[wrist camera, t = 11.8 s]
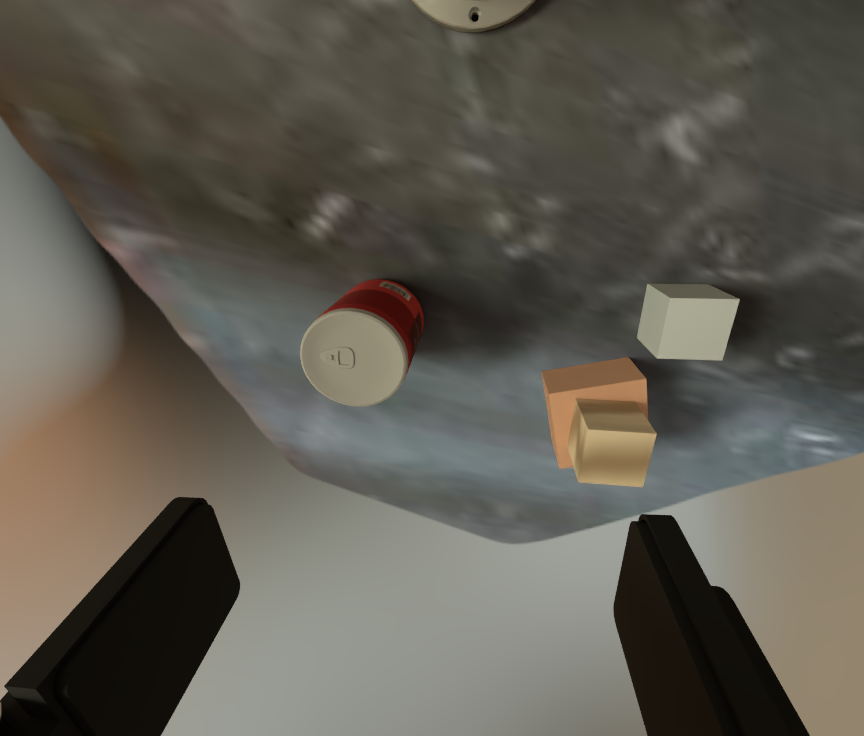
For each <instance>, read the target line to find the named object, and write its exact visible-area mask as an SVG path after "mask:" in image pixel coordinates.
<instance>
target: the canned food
mask: <svg viewBox="0 0 864 736" xmlns="http://www.w3.org/2000/svg"><path fill="white" fill-rule="evenodd" d="M423 326H424V316H423V312H422V308H421V306H420V304H419V302H418V300H417V299H416V297H415V296H414V295H413V294H412V293H411V292H410V291H409V290H408V289H406V288H405V287H404V286H402V285H400V284H398V283H396V282H393V281H390V280H383V279H374V280H369V281H365V282H363V283H360V284H358V285H357V286H355V287H354V288H353V289H351V290H350V291H349V292H348V293H347V294H345V295H344V296H343V297H342V298H341V299H339V300H338V301H337V302H336V303H335V304H333V305H332V306H331V307H330V308H329V309H328V310H326V311H325V312H324V313H323V314H322V315H320V316H319V317H318V318H317V319H316V320H315V321H314V322H313V323H312V325H311V326H310V327H309V328H308V330H307V331H306V333H305V335H304V337H303V339H302V343H301V348H300V358H301V363H302V367H303V369H304V372H305V374H306V376H307V378H308V379H309V381H310V382H311V384H312V385H313V386H314V387H315V388H316V389H317V390H318V391H319V392H321V393H322V394H323V395H325V396H326V397H328V398H330V399H332V400H334V401H335V402H338V403H341V404H344V405H350V406H369V405H375V404H377V403H380V402H382V401H384V400H386V399H388V398H389V397H391V396H392V395H393V394H394V393H395V392H396V391H397V390H398V388H399V387H400V386H401V384H402V382H403V381H404V379H405V377H406V374H407V372H408V369H409V367H410V364H411V361H412V358H413V356H414V353H415V350H416V348H417V345H418V342H419V339H420V337H421V334H422V331H423Z"/></svg>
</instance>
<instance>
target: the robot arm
mask: <svg viewBox="0 0 864 736" xmlns="http://www.w3.org/2000/svg"><path fill="white" fill-rule="evenodd" d="M411 1H412V2H413V3H414V5H415V6H416V7H417V8H418V9H419V10H420V11H421V12H422V13H423V14H425V15H426V16H427V17H428V18H429V19H431V20H432V21H434V22H436V23H438V24H440V25H442V26H444V27H445V28H448V29H452V30H456V31H460V32H482V31H487V30H491V29H496V28H498V27H500V26H502V25H504V24H507V23H509V22H511V21H513V20H514V19H515V18H517V17H518V16H519V15H521V14H522V13H524V12H525V11H526V10H528V8H529V7H530V6H531V5H532V4H533V3H534V2H535V1H536V0H411ZM473 15H477V16H478V17H479V18H478V20H477V21H476V22H473V21H472V20H471V18H472V16H473ZM239 590H240V581H239V579H238V576H237V573H236V570H235V567H234V565H233V562H232V559H231V557H230V554H229V551H228V548H227V545H226V543H225V540H224V537H223V534H222V532H221V529H220V526H219V523H218V521H217V518H216V515H215V513H214V509H213V508H212V506H211V505H208V503H207V502H206V500H205V499H203V498H188V497H178V498H175V499H174V500H172V501H171V502H170V503H169V504H168V505H167V506H166V508H165V509H164V510H163V511H162V512H161V513H160V514H159V516H157V518H156V519H155V520H154V521H153V522H152V523H151V524H150V525H149V527H147V529H146V530H145V531H144V532H143V533H142V534H141V535H140V536H139V537H138V539H137V540H136V541H135V542H134V543H133V544H132V546H130V548H129V549H128V550H127V551H126V552H125V553H124V554H123V555H122V556H121V558H119V560H118V561H117V562H116V563H115V564H114V565H113V567H111V569H110V570H109V571H108V572H107V573H106V574H105V575H104V576H103V577H102V578H101V580H100V581H99V582H98V583H97V584H96V585H95V586H94V587H93V589H91V591H90V592H89V593H88V594H87V595H86V596H85V597H84V598H83V600H82V601H81V602H80V603H79V604H78V605H77V606H76V607H75V608H74V609H73V611H72V612H71V613H70V614H69V615H68V616H67V617H66V618H65V619H64V620H63V622H62V623H61V624H60V625H59V626H58V627H57V628H56V629H55V630H54V632H53V633H52V634H51V635H50V636H49V637H48V638H47V639H46V640H45V642H44V643H43V644H42V645H41V646H40V647H39V648H38V649H37V650H36V652H35V653H34V654H33V655H32V656H31V657H30V658H29V659H28V660H27V662H26V663H25V664H24V665H23V666H22V667H21V668H20V669H19V671H17V672H16V674H15V675H14V676H13V677H12V678H11V679H10V680H9V681H8V682H7V684H6V685H5V686H4V687H5V688H6V689H7V690H8V692H7V693H6V695H5V696H4V697H3V698H2V699H1V700H0V736H161V734H162V732H163V731H164V729H165V727H166V725H167V723H168V721H169V720H170V718H171V716H172V714H173V713H174V711H175V709H176V707H177V705H178V704H179V702H180V700H181V698H182V696H183V694H184V693H185V691H186V689H187V687H188V685H189V684H190V682H191V680H192V678H193V676H194V675H195V673H196V671H197V669H198V668H199V666H200V664H201V662H202V660H203V659H204V657H205V655H206V653H207V651H208V650H209V648H210V646H211V644H212V642H213V641H214V639H215V637H216V635H217V633H218V632H219V630H220V628H221V626H222V624H223V623H224V621H225V619H226V617H227V615H228V614H229V612H230V610H231V608H232V606H233V605H234V603H235V601H236V599H237V597H238V594H239ZM614 618H615V623H616V627H617V630H618V634H619V637H620V641H621V644H622V648H623V651H624V655H625V658H626V661H627V665H628V669H629V672H630V676H631V679H632V683H633V686H634V690H635V693H636V697H637V700H638V704H639V707H640V710H641V714H642V718H643V721H644V725H645V728H646V732H647V735H648V736H810V735H809V733H808V732H807V730H806V728H805V726H804V725H803V723H802V721H801V719H800V717H799V716H798V714H797V712H796V710H795V709H794V707H793V705H792V703H791V702H790V700H789V698H788V696H787V694H786V693H785V691H784V689H783V687H782V686H781V684H780V682H779V680H778V679H777V677H776V675H775V673H774V671H773V670H772V668H771V666H770V664H769V663H768V661H767V659H766V657H765V656H764V654H763V652H762V650H761V649H760V647H759V645H758V643H757V642H756V640H755V638H754V636H753V634H752V633H751V631H750V629H749V628H748V626H747V624H746V622H745V620H744V619H743V617H742V615H741V613H740V611H739V610H738V608H737V606H736V604H735V603H734V601H733V600H732V598H731V597H730V595H729V594H728V593H727V592H726V591H725V590H724V589H723V588H721V587H718V586H711V585H710V584H709V582H708V579H707V578H706V576H705V574H704V572H703V570H702V568H701V567H700V564H699V563H698V561H697V559H696V557H695V555H694V553H693V551H692V549H691V548H690V546H689V544H688V542H687V540H686V538H685V537H684V534H683V533H682V531H681V529H680V527H679V525H678V523H677V522H676V520H675V519H674V517H672V516H671V515H647V514H641V516H640V517H639V521H632V522H631V523H630V527H629V532H628V537H627V542H626V547H625V551H624V557H623V561H622V567H621V571H620V576H619V581H618V586H617V591H616V596H615V601H614Z"/></svg>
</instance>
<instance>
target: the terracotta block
mask: <svg viewBox="0 0 864 736" xmlns="http://www.w3.org/2000/svg"><path fill="white" fill-rule="evenodd" d="M542 378H543V384H544V391H545V398H546V405H547V411H548V418H549V425H550V432H551V438H552V443H553V447H554V450H555V454H556V458H557V461H558V465H559V469H561V468H569V467H574V466H573V463H572V460H571V457H570V453H569V450H568V447H567V446H568V440H569V434H570V428H571V422H572V416H573V410H574V404H575V398H577V399H594V400H611V401H628V402H636V404H637V405H638V407H639V408H640V410H641V411H642V412H643V414H644V415H645V417H646V418H647V420H648V404H647V383H646V378H645V377H644V375H643V374H642V373H641V372H640V371H639V369H638V368H637V367H636V366H635V365H634V363H633V362H632V361H631V360H630V358H629V357H627V358H620V359H614V360H608V361H602V362H596V363H590V364H584V365H578V366H572V367H566V368H560V369H554V370H548V371H542Z"/></svg>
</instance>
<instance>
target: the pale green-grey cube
mask: <svg viewBox="0 0 864 736" xmlns="http://www.w3.org/2000/svg"><path fill="white" fill-rule="evenodd" d="M739 301H740V299H738V298H736V297H734V296H732V295H730V294H728V293H726V292H723V291H721V290H719V289H717V288H715V287H713V286H711V285H709V284H647V289H646V294H645V299H644V304H643V309H642V315H641V320H640V325H639V330H638V335H637V338H638V339H639V340H640V342H641V343H642V344H643V345H644V346H645V347H646V348H647V349H648V350H649V351H650V352H651V353H652V354H653V355H654V356H655V357H656V358H659V359H692V360H723V356H724V353H725V349H726V346H727V342H728V339H729V335H730V332H731V328H732V325H733V322H734V318H735V315H736V311H737V308H738V304H739Z"/></svg>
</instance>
